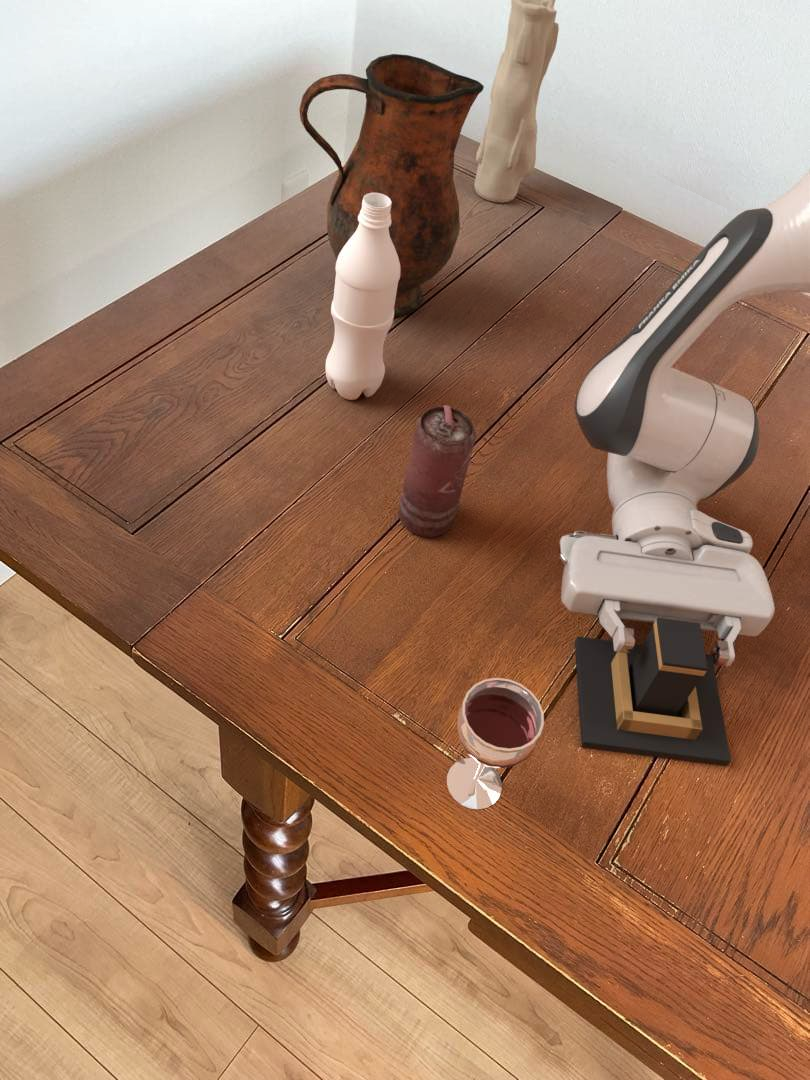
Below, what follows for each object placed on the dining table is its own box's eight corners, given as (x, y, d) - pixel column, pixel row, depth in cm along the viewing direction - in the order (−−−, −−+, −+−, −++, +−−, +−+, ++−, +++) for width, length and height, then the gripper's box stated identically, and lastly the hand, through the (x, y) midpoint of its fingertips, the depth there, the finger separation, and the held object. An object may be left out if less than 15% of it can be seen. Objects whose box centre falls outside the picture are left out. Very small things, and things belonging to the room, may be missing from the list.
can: (446, 495, 109) (469, 401, 98) (457, 538, 105) (483, 444, 94) (393, 497, 107) (411, 401, 97) (403, 540, 103) (423, 445, 93)
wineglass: (475, 735, 89) (503, 663, 80) (527, 789, 86) (562, 721, 77) (420, 776, 86) (443, 705, 77) (473, 834, 83) (503, 767, 74)
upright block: (667, 676, 95) (700, 622, 89) (673, 721, 92) (708, 669, 85) (626, 670, 95) (657, 616, 88) (631, 715, 92) (663, 663, 85)
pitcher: (456, 332, 129) (505, 111, 106) (297, 336, 123) (313, 104, 101) (428, 260, 139) (467, 44, 116) (280, 260, 134) (291, 35, 111)
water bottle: (336, 410, 115) (358, 222, 97) (315, 372, 119) (332, 185, 101) (391, 400, 118) (422, 215, 99) (368, 363, 122) (394, 179, 103)
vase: (489, 173, 158) (533, -27, 135) (533, 194, 155) (585, -6, 133) (461, 191, 153) (502, -13, 130) (506, 214, 150) (556, 9, 128)
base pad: (708, 659, 99) (719, 643, 96) (726, 766, 91) (739, 750, 88) (574, 641, 98) (582, 624, 96) (581, 747, 90) (590, 731, 88)
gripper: (566, 507, 95) (573, 620, 86) (766, 536, 96) (795, 650, 87) (550, 548, 100) (555, 660, 91) (741, 575, 101) (766, 687, 92)
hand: (674, 655), depth 89 cm, fingers open, 8 cm apart
